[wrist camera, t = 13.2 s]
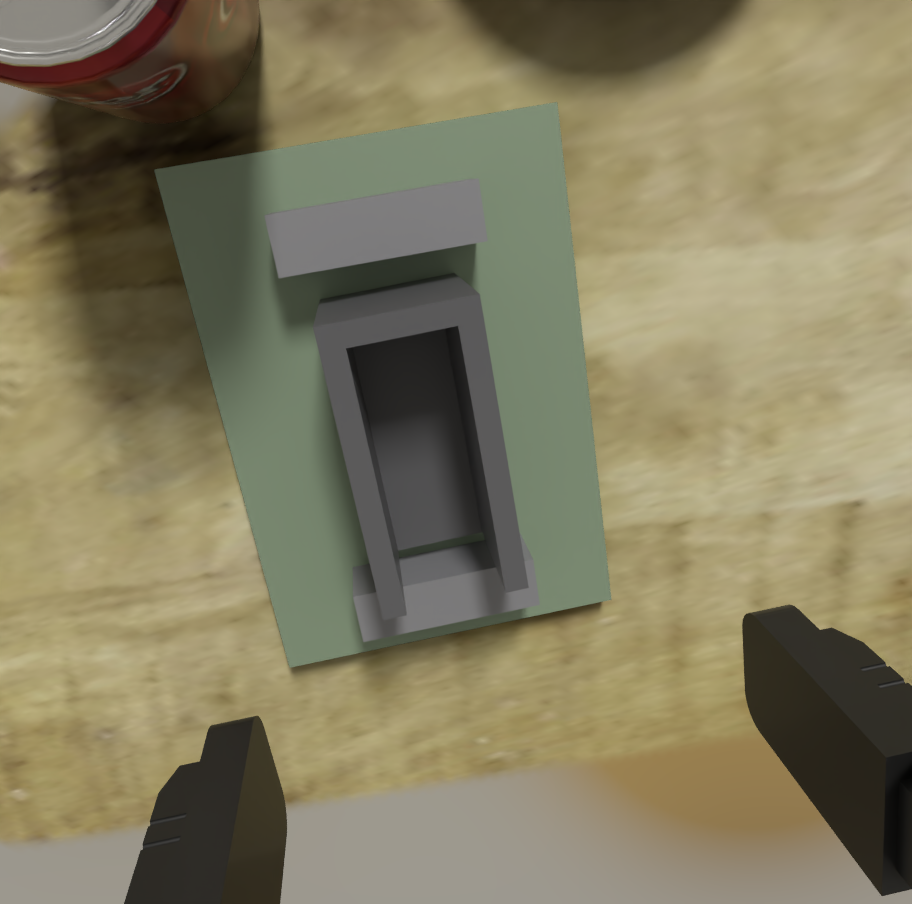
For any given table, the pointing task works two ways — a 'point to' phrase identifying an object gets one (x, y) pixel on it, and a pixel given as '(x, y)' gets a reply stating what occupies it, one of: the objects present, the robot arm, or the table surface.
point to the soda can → (129, 53)
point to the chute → (419, 424)
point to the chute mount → (303, 382)
